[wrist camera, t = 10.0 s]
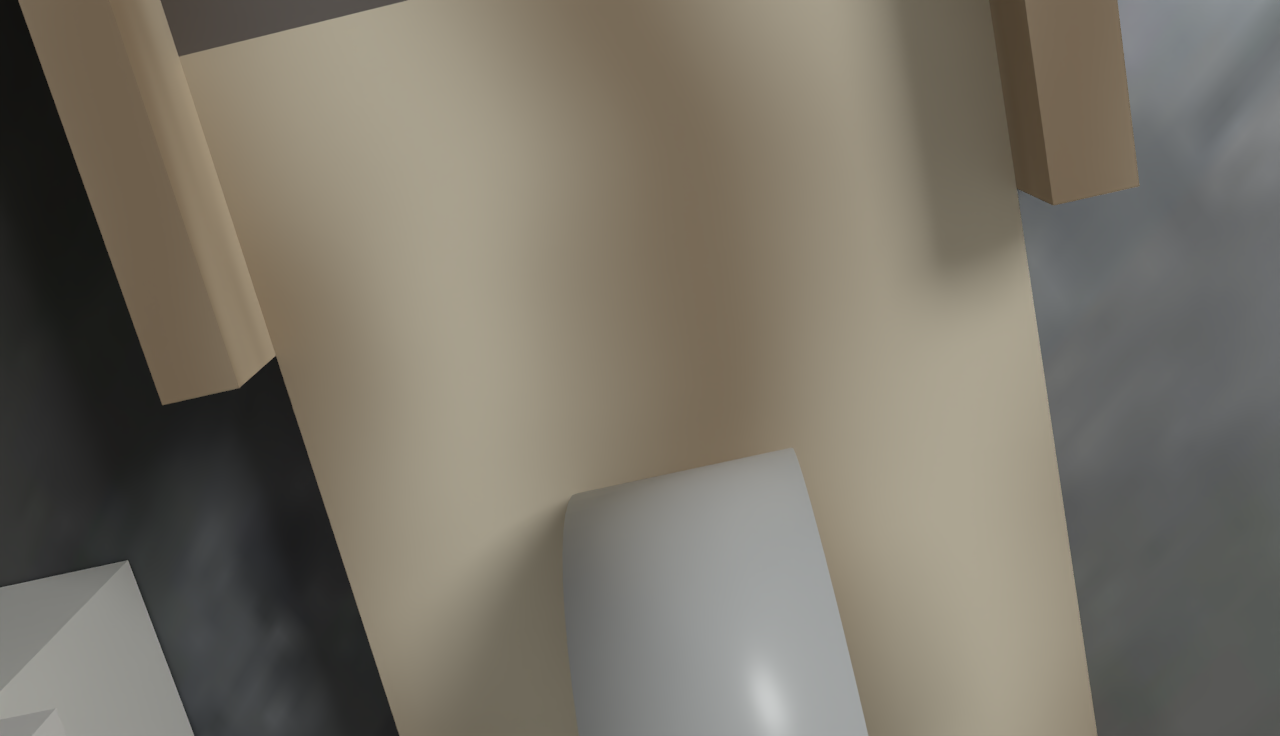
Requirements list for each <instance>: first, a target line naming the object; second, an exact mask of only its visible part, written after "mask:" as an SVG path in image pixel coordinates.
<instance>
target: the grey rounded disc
mask: <svg viewBox="0 0 1280 736" xmlns="http://www.w3.org/2000/svg"><path fill="white" fill-rule="evenodd" d="M562 559H563V593H564V612H565V623H566V635H567V646H568V656H569V664H570V673H571V682H572V690H573V698H574V705H575V712H576V719H577V727H578V733H579V736H868V732H867V728H866V723H865V719H864V715H863V710H862V706H861V702H860V697H859V693H858V689H857V685H856V680H855V676H854V672H853V668H852V664H851V659H850V655H849V651H848V647H847V643H846V639H845V634H844V630H843V626H842V622H841V618H840V614H839V610H838V606H837V602H836V598H835V594H834V590H833V586H832V582H831V578H830V574H829V570H828V566H827V562H826V558H825V554H824V550H823V547H822V543H821V539H820V535H819V531H818V528H817V524H816V520H815V516H814V513H813V509H812V505H811V502H810V498H809V495H808V491H807V488H806V484H805V481H804V477H803V474H802V471H801V468H800V464H799V462H798V459H797V456H796V453H795V451H794V449H793V448H787V449H782V450H778V451H773V452H768V453H764V454H759V455H754V456H750V457H745V458H740V459H736V460H731V461H726V462H721V463H717V464H712V465H707V466H703V467H698V468H693V469H689V470H684V471H679V472H675V473H670V474H665V475H660V476H656V477H651V478H646V479H642V480H637V481H632V482H628V483H623V484H618V485H614V486H609V487H604V488H599V489H595V490H590V491H585V492H581V493H576V494H574V495H572V497H571V499H570V500H569V502H568V506H567V509H566V513H565V521H564V529H563V551H562Z"/></svg>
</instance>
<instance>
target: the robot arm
mask: <svg viewBox="0 0 1280 736" xmlns="http://www.w3.org/2000/svg"><path fill="white" fill-rule="evenodd" d="M0 736H67V734H66V732H65V729H64V727H63V724H62V722H61V719H60V717H59V715H58V712H57V710H56V708H54V709H50V710H45V711H40V712H35V713H30V714H25V715H20V716H16V717H11V718H6V719H1V720H0Z"/></svg>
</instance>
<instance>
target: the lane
mask: <svg viewBox="0 0 1280 736" xmlns="http://www.w3.org/2000/svg"><path fill="white" fill-rule="evenodd" d="M18 1H19V4H20V6H21V9H22V12H23V15H24V18H25V21H26V23H27V26H28V29H29V32H30V35H31V37H32V40H33V43H34V46H35V49H36V51H37V54H38V57H39V60H40V63H41V66H42V68H43V71H44V74H45V77H46V80H47V82H48V85H49V88H50V91H51V94H52V96H53V99H54V102H55V105H56V108H57V111H58V113H59V116H60V119H61V122H62V125H63V127H64V130H65V133H66V136H67V139H68V141H69V144H70V147H71V150H72V153H73V156H74V158H75V161H76V164H77V167H78V170H79V172H80V175H81V178H82V181H83V184H84V186H85V189H86V192H87V195H88V198H89V201H90V203H91V206H92V209H93V212H94V215H95V217H96V220H97V223H98V226H99V229H100V231H101V234H102V237H103V240H104V243H105V246H106V248H107V251H108V254H109V257H110V260H111V262H112V265H113V268H114V271H115V274H116V276H117V279H118V282H119V285H120V288H121V291H122V293H123V296H124V299H125V302H126V305H127V307H128V310H129V313H130V316H131V319H132V321H133V324H134V327H135V330H136V333H137V336H138V338H139V341H140V344H141V347H142V350H143V352H144V355H145V358H146V361H147V364H148V366H149V369H150V372H151V375H152V378H153V381H154V383H155V386H156V389H157V392H158V395H159V397H160V400H161V403H162V405H166V404H170V403H175V402H179V401H184V400H188V399H193V398H197V397H201V396H206V395H210V394H215V393H219V392H224V391H228V390H233V389H237V388H240V387H241V386H242V385H243V384H244V383H246V382H247V381H248V380H249V379H250V378H251V377H252V376H253V375H255V374H256V373H257V372H258V371H259V370H260V369H261V368H262V367H264V366H265V365H266V364H267V363H268V362H269V361H270V360H271V359H273V358H274V357H275V356H276V357H277V360H278V364H279V367H280V370H281V373H282V376H283V379H284V382H285V385H286V388H287V391H288V394H289V397H290V400H291V404H292V407H293V410H294V413H295V416H296V419H297V422H298V425H299V428H300V431H301V434H302V437H303V440H304V444H305V447H306V450H307V453H308V456H309V459H310V462H311V465H312V468H313V471H314V474H315V477H316V480H317V484H318V487H319V490H320V493H321V496H322V499H323V502H324V505H325V508H326V511H327V514H328V517H329V520H330V524H331V527H332V530H333V533H334V536H335V539H336V542H337V545H338V548H339V551H340V554H341V557H342V560H343V564H344V567H345V570H346V573H347V576H348V579H349V582H350V585H351V588H352V591H353V594H354V597H355V600H356V604H357V607H358V610H359V613H360V616H361V619H362V622H363V625H364V628H365V631H366V634H367V637H368V640H369V644H370V647H371V650H372V653H373V656H374V659H375V662H376V665H377V668H378V671H379V674H380V677H381V680H382V684H383V687H384V690H385V693H386V696H387V699H388V702H389V705H390V708H391V711H392V714H393V717H394V720H395V724H396V727H397V730H398V733H399V736H579V733H578V727H577V719H576V712H575V705H574V698H573V690H572V682H571V673H570V664H569V656H568V646H567V635H566V623H565V612H564V593H563V559H562V551H563V529H564V521H565V513H566V509H567V506H568V502H569V500H570V499H571V497H572V495H574V494H576V493H581V492H585V491H590V490H595V489H599V488H604V487H609V486H614V485H618V484H623V483H628V482H632V481H637V480H642V479H646V478H651V477H656V476H660V475H665V474H670V473H675V472H679V471H684V470H689V469H693V468H698V467H703V466H707V465H712V464H717V463H721V462H726V461H731V460H736V459H740V458H745V457H750V456H754V455H759V454H764V453H768V452H773V451H778V450H782V449H787V448H793V449H794V451H795V453H796V456H797V459H798V462H799V464H800V468H801V471H802V474H803V477H804V481H805V484H806V488H807V491H808V495H809V498H810V502H811V505H812V509H813V513H814V516H815V520H816V524H817V528H818V531H819V535H820V539H821V543H822V547H823V550H824V554H825V558H826V562H827V566H828V570H829V574H830V578H831V582H832V586H833V590H834V594H835V598H836V602H837V606H838V610H839V614H840V618H841V622H842V626H843V630H844V634H845V639H846V643H847V647H848V651H849V655H850V659H851V664H852V668H853V672H854V676H855V680H856V685H857V689H858V693H859V697H860V702H861V706H862V710H863V715H864V719H865V723H866V728H867V732H868V736H1097V730H1096V723H1095V717H1094V710H1093V703H1092V696H1091V689H1090V683H1089V676H1088V669H1087V662H1086V655H1085V649H1084V642H1083V635H1082V628H1081V621H1080V615H1079V608H1078V601H1077V594H1076V588H1075V581H1074V574H1073V567H1072V560H1071V554H1070V547H1069V540H1068V533H1067V526H1066V520H1065V513H1064V506H1063V499H1062V492H1061V486H1060V479H1059V472H1058V465H1057V459H1056V452H1055V445H1054V438H1053V431H1052V425H1051V418H1050V411H1049V404H1048V397H1047V391H1046V384H1045V377H1044V370H1043V363H1042V357H1041V350H1040V343H1039V336H1038V330H1037V323H1036V316H1035V309H1034V302H1033V296H1032V289H1031V282H1030V275H1029V268H1028V262H1027V255H1026V248H1025V241H1024V234H1023V228H1022V221H1021V214H1020V207H1019V201H1018V194H1017V189H1019V190H1021V191H1024V192H1026V193H1028V194H1030V195H1032V196H1034V197H1036V198H1039V199H1041V200H1043V201H1045V202H1047V203H1049V204H1051V205H1058V204H1062V203H1067V202H1071V201H1076V200H1080V199H1084V198H1089V197H1093V196H1098V195H1102V194H1107V193H1111V192H1116V191H1120V190H1125V189H1129V188H1133V187H1138V186H1139V178H1138V170H1137V161H1136V153H1135V145H1134V136H1133V128H1132V119H1131V111H1130V103H1129V94H1128V86H1127V78H1126V69H1125V61H1124V53H1123V44H1122V36H1121V28H1120V19H1119V11H1118V3H1117V0H18Z"/></svg>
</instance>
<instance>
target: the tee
mask: <svg viewBox="0 0 1280 736" xmlns="http://www.w3.org/2000/svg"><path fill="white" fill-rule="evenodd" d="M54 708H56V710H57V712H58V715H59V717H60V719H61V722H62V724H63V727H64V729H65V732H66V734H67V736H194V734H193V731H192V728H191V726H190V723H189V720H188V718H187V715H186V713H185V710H184V707H183V705H182V702H181V699H180V697H179V694H178V691H177V689H176V686H175V683H174V681H173V678H172V675H171V673H170V670H169V667H168V665H167V662H166V660H165V657H164V654H163V652H162V649H161V646H160V644H159V641H158V638H157V636H156V633H155V630H154V628H153V625H152V622H151V620H150V617H149V614H148V612H147V609H146V607H145V604H144V601H143V599H142V596H141V593H140V591H139V588H138V585H137V583H136V580H135V577H134V575H133V572H132V569H131V567H130V564H129V561H128V560H126V561H122V562H117V563H112V564H108V565H103V566H98V567H94V568H89V569H84V570H80V571H75V572H70V573H66V574H61V575H56V576H52V577H47V578H43V579H38V580H33V581H29V582H24V583H19V584H15V585H10V586H5V587H1V588H0V720H1V719H6V718H11V717H16V716H20V715H25V714H30V713H35V712H40V711H45V710H50V709H54Z"/></svg>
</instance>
